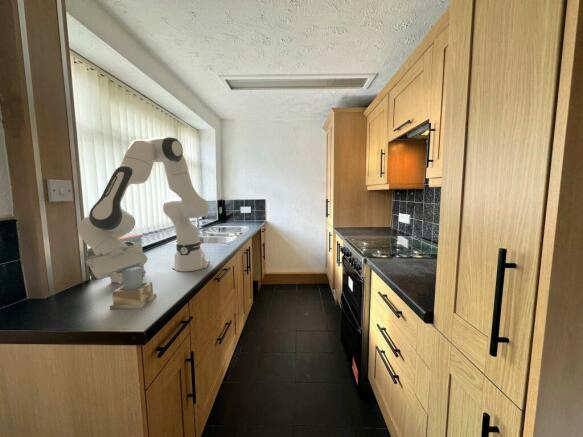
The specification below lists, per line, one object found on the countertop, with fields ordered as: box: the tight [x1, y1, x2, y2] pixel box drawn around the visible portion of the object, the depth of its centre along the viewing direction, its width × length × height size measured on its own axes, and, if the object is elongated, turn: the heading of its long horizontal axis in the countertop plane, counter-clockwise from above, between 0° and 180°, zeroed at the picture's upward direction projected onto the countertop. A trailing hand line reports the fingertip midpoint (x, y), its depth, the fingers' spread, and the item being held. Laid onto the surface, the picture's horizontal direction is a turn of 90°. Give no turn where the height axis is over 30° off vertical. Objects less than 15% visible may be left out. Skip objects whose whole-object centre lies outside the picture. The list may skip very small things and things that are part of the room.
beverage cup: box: [86, 247, 99, 280], centre depth 128 cm, size 7×7×20 cm
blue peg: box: [122, 267, 144, 290], centre depth 98 cm, size 4×4×12 cm
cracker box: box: [110, 234, 143, 284], centre depth 126 cm, size 14×6×21 cm, turn 162°
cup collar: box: [109, 281, 157, 310], centre depth 98 cm, size 11×11×6 cm
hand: (133, 278), depth 97 cm, fingers open, 8 cm apart
